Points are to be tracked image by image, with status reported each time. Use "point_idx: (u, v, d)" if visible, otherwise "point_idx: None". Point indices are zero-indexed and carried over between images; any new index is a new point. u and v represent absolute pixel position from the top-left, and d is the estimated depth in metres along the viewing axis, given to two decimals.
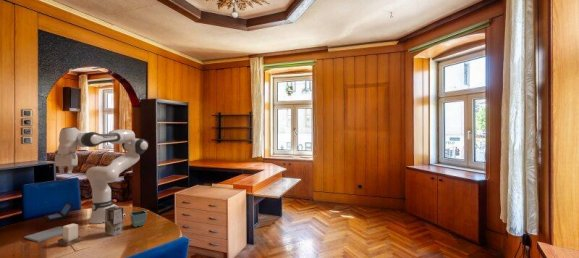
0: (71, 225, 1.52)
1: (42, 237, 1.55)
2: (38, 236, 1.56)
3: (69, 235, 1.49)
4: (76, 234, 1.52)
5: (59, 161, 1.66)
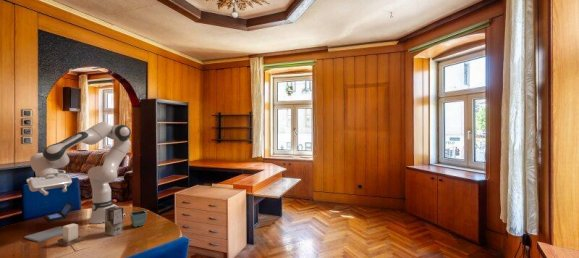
0: (71, 225, 1.52)
1: (42, 237, 1.55)
2: (38, 236, 1.56)
3: (69, 235, 1.49)
4: (76, 234, 1.52)
5: None
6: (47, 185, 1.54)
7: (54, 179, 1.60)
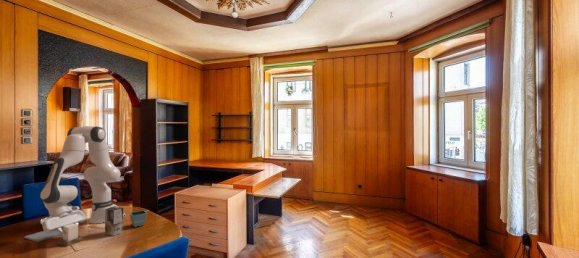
0: (71, 225, 1.52)
1: (42, 237, 1.55)
2: (38, 236, 1.56)
3: (69, 235, 1.49)
4: (76, 234, 1.52)
5: None
6: (61, 225, 1.49)
7: (68, 217, 1.55)
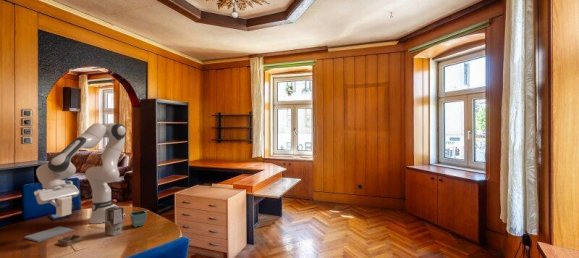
0: (64, 198, 1.54)
1: (42, 237, 1.55)
2: (38, 236, 1.56)
3: (62, 207, 1.51)
4: (69, 207, 1.55)
5: None
6: (55, 197, 1.52)
7: (61, 190, 1.57)
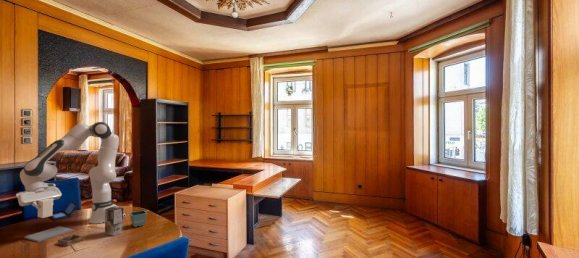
0: (46, 200, 1.60)
1: (42, 237, 1.55)
2: (38, 236, 1.56)
3: (43, 208, 1.57)
4: (51, 208, 1.61)
5: None
6: (36, 199, 1.58)
7: (44, 193, 1.63)
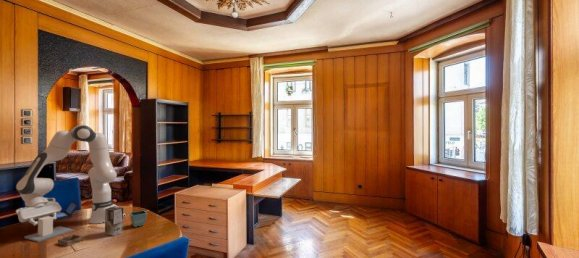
0: (46, 217, 1.60)
1: (42, 237, 1.55)
2: (38, 236, 1.56)
3: (43, 226, 1.57)
4: (51, 226, 1.61)
5: None
6: (36, 215, 1.58)
7: (43, 208, 1.63)
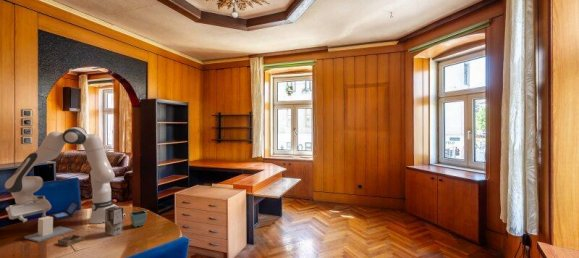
0: (46, 217, 1.60)
1: (42, 237, 1.55)
2: (38, 236, 1.56)
3: (43, 226, 1.57)
4: (51, 226, 1.61)
5: None
6: (26, 212, 1.62)
7: (33, 205, 1.67)
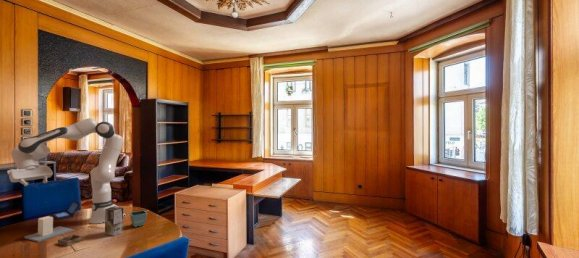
0: (46, 217, 1.60)
1: (42, 237, 1.55)
2: (38, 236, 1.56)
3: (43, 226, 1.57)
4: (51, 226, 1.61)
5: None
6: (27, 176, 1.61)
7: (35, 171, 1.67)
